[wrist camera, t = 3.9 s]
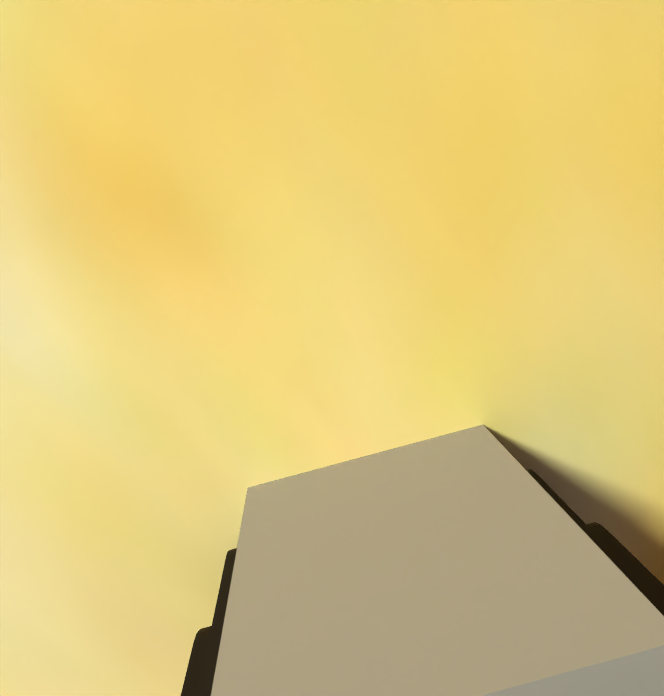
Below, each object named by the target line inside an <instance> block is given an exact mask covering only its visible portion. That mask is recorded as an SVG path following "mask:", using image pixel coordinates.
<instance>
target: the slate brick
mask: <svg viewBox="0 0 664 696" xmlns="http://www.w3.org/2000/svg"><path fill="white" fill-rule="evenodd" d="M211 696H664V616H663V615H662V614H661V613H660V612H659V611H658V610H657V609H656V608H655V606H654V605H653V604H652V603H651V602H650V601H649V600H648V599H647V598H646V597H645V596H644V595H643V594H642V593H641V592H640V591H639V590H638V588H637V587H636V586H635V585H634V584H633V583H632V582H631V581H630V580H629V579H628V578H627V577H626V576H625V575H624V574H623V573H622V571H621V570H620V569H619V568H618V567H617V566H616V565H615V564H614V563H613V562H612V561H611V560H610V559H609V558H608V557H607V556H606V555H605V553H604V552H603V551H602V550H601V549H600V548H599V547H598V546H597V545H596V544H595V543H594V542H593V541H592V540H591V539H590V538H589V536H588V535H587V534H586V533H585V532H584V531H583V530H582V529H581V528H580V527H579V526H578V525H577V524H576V523H575V522H574V521H573V520H572V518H571V517H570V516H569V515H568V514H567V513H566V512H565V511H564V510H563V509H562V508H561V507H560V506H559V505H558V504H557V503H556V501H555V500H554V499H553V498H552V497H551V496H550V495H549V494H548V493H547V492H546V491H545V490H544V489H543V488H542V487H541V486H540V485H539V483H538V482H537V481H536V480H535V479H534V478H533V477H532V476H531V475H530V474H529V473H528V472H527V471H526V470H525V469H524V468H523V466H522V465H521V464H520V463H519V462H518V461H517V460H516V459H515V458H514V457H513V456H512V455H511V454H510V453H509V452H508V451H507V450H506V448H505V447H504V446H503V445H502V444H501V443H500V442H499V441H498V440H497V439H496V438H495V437H494V436H493V435H492V434H491V433H490V431H489V430H488V429H487V428H486V427H485V426H484V425H480V426H476V427H472V428H469V429H465V430H461V431H458V432H454V433H450V434H446V435H443V436H439V437H435V438H432V439H428V440H424V441H420V442H417V443H413V444H409V445H405V446H402V447H398V448H394V449H391V450H387V451H383V452H379V453H376V454H372V455H368V456H365V457H361V458H357V459H353V460H350V461H346V462H342V463H338V464H335V465H331V466H327V467H324V468H320V469H316V470H312V471H309V472H305V473H301V474H298V475H294V476H290V477H286V478H283V479H279V480H275V481H271V482H268V483H264V484H260V485H257V486H253V487H249V488H248V490H247V495H246V501H245V506H244V512H243V518H242V523H241V529H240V534H239V540H238V546H237V551H236V557H235V563H234V568H233V574H232V579H231V585H230V591H229V596H228V602H227V608H226V613H225V619H224V624H223V630H222V636H221V641H220V647H219V652H218V658H217V664H216V669H215V675H214V681H213V686H212V692H211Z"/></svg>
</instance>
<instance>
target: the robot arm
mask: <svg viewBox="0 0 664 696" xmlns="http://www.w3.org/2000/svg"><path fill="white" fill-rule="evenodd" d="M526 471H527V472H528V473H529V474H530V475H531V476H532V477H533V478H534V479H535V480H536V481H537V482H538V483H539V485H540V486H541V487H542V488H543V489H544V490H545V491H546V492H547V493H548V494H549V495H550V496H551V497H552V498H553V499H554V500H555V501H556V503H557V504H558V505H559V506H560V507H561V508H562V509H563V510H564V511H565V512H566V513H567V514H568V515H569V516H570V517H571V518H572V520H573V521H574V522H575V523H576V524H577V525H578V526H579V527H580V528H581V529H582V530H583V531H584V532H585V533H586V534H587V535H588V536H589V538H590V539H591V540H592V541H593V542H594V543H595V544H596V545H597V546H598V547H599V548H600V549H601V550H602V551H603V552H604V553H605V555H606V556H607V557H608V558H609V559H610V560H611V561H612V562H613V563H614V564H615V565H616V566H617V567H618V568H619V569H620V570H621V571H622V573H623V574H624V575H625V576H626V577H627V578H628V579H629V580H630V581H631V582H632V583H633V584H634V585H635V586H636V587H637V588H638V590H639V591H640V592H641V593H642V594H643V595H644V596H645V597H646V598H647V599H648V600H649V601H650V602H651V603H652V604H653V605H654V606H655V608H656V609H657V610H658V611H659V612H660V613H661V614H662V615H663V616H664V585H663V584H662V583H661V582H660V581H659V580H658V579H657V578H656V577H655V576H654V575H652V574H651V573H650V572H649V571H648V570H647V569H646V568H645V567H644V566H643V565H642V564H641V563H640V562H639V561H638V560H637V559H636V558H635V557H634V556H633V555H632V554H631V553H630V552H629V551H628V550H627V549H626V548H625V547H624V546H623V545H622V544H621V543H620V542H619V541H618V540H617V539H616V538H615V537H614V536H613V535H612V534H610V533H609V532H608V531H607V530H606V529H605V528H604V527H603V526H601V525H600V524H598V523H595V522H594V523H590V524H587V525H586V524H585V523H584V522H583V521H582V520H581V519H580V518H579V517H578V516H577V515H576V514H575V513H574V512H573V511H572V510H571V509H570V508H569V507H568V506H567V505H566V503H565V502H564V501H563V500H562V499H561V498H560V497H559V496H558V495H557V494H556V493H555V492H554V491H553V490H552V489H551V488H550V487H549V486H548V485H547V484H546V483H545V482H544V481H543V480H542V479H541V478H540V477H539V476H538V475H537V474H536V473H535V472H534V471H533V470H526ZM236 551H237V548H236V549H232V550H229V551H228V552H227V555H226V560H225V565H224V570H223V574H222V579H221V584H220V589H219V594H218V599H217V603H216V608H215V613H214V618H213V623H212V626H210V627H206V628H202V629H200V630H199V631H198V632H197V634H196V637H195V640H194V643H193V648H192V652H191V656H190V660H189V664H188V668H187V672H186V676H185V681H184V685H183V689H182V693H181V696H211V692H212V686H213V681H214V675H215V669H216V664H217V658H218V652H219V647H220V641H221V636H222V630H223V624H224V619H225V613H226V608H227V602H228V596H229V591H230V585H231V579H232V574H233V568H234V563H235V557H236Z"/></svg>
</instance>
